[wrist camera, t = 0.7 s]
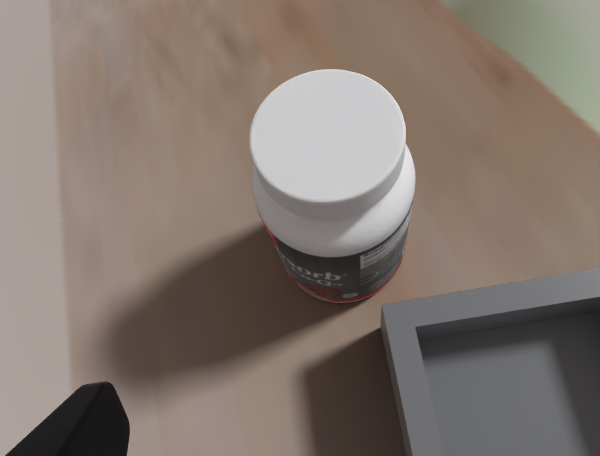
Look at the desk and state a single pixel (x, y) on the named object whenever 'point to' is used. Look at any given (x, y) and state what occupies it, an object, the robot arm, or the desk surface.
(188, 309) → the desk surface
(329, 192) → the pill bottle
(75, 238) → the desk surface
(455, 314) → the bottle holder
